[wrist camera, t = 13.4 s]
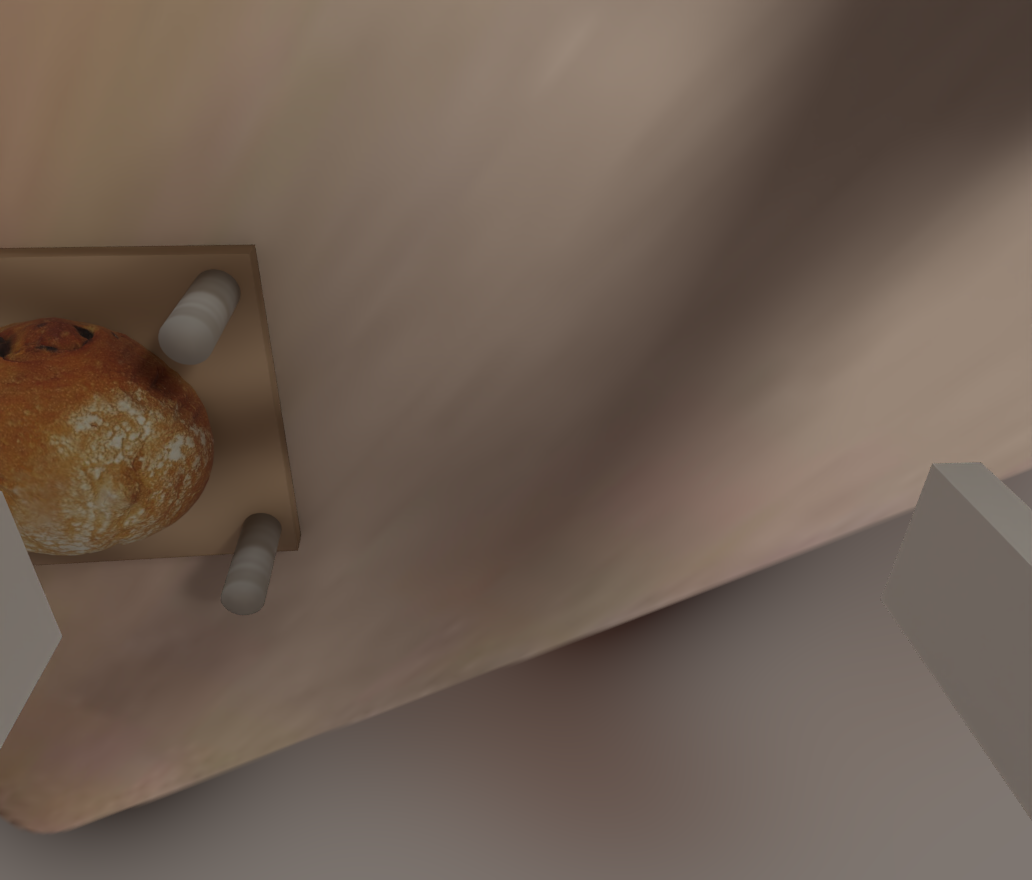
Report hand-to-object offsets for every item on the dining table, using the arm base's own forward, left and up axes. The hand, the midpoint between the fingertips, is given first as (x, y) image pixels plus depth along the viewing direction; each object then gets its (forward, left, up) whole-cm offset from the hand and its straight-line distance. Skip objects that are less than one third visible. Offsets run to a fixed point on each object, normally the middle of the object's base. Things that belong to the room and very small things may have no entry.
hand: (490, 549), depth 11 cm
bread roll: (+9, -15, -22) cm, 28 cm away
